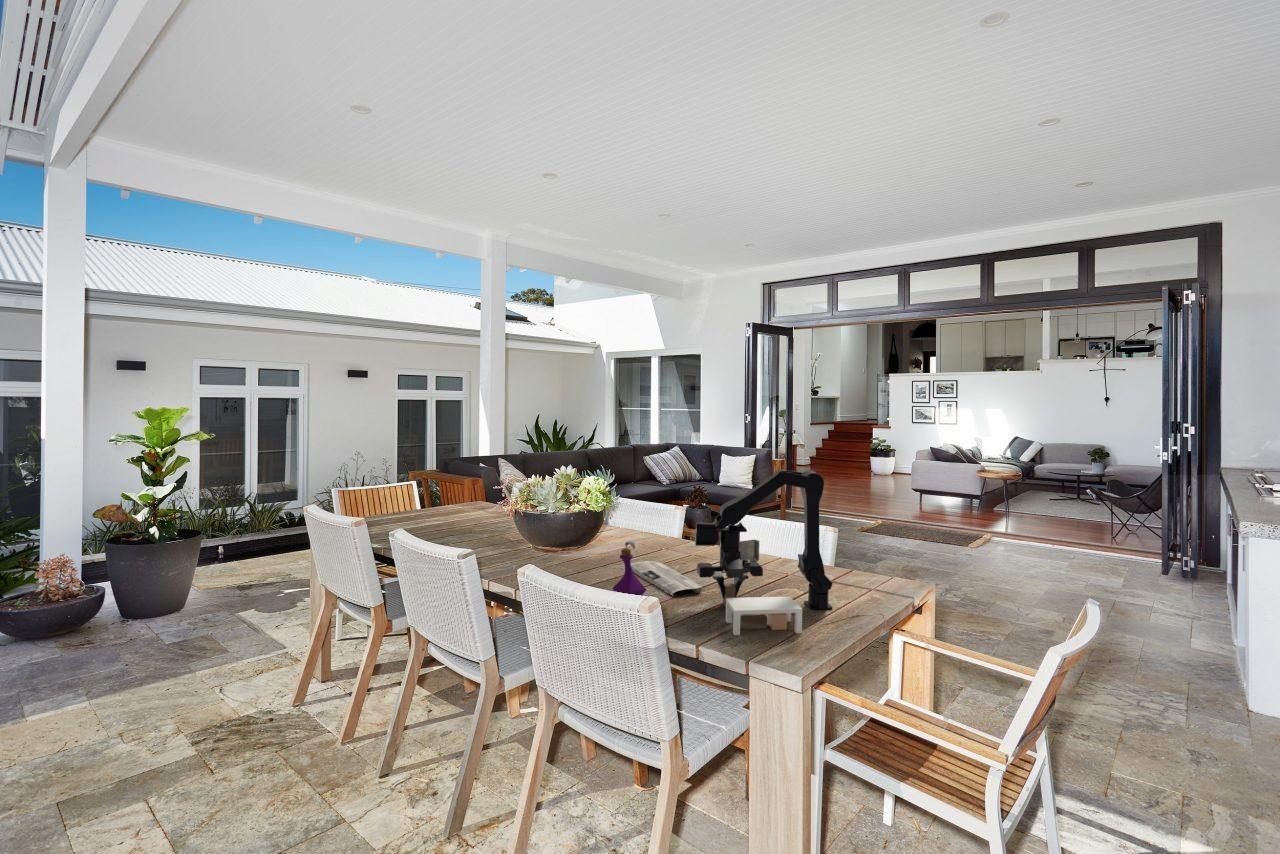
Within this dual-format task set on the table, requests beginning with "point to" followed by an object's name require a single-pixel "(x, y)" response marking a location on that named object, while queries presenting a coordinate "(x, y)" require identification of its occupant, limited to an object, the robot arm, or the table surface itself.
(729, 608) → the low shelf
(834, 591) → the table surface
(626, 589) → the perfume bottle
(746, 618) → the tan post with foot
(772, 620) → the terracotta block
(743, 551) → the ruin model on sheet
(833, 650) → the table surface
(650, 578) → the newspaper
